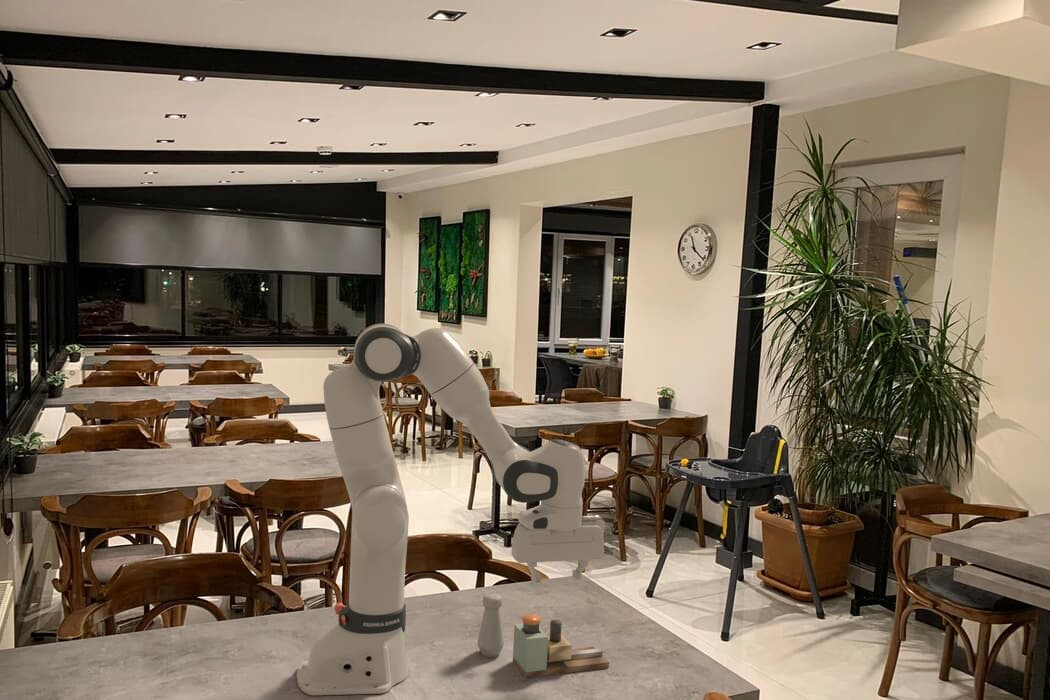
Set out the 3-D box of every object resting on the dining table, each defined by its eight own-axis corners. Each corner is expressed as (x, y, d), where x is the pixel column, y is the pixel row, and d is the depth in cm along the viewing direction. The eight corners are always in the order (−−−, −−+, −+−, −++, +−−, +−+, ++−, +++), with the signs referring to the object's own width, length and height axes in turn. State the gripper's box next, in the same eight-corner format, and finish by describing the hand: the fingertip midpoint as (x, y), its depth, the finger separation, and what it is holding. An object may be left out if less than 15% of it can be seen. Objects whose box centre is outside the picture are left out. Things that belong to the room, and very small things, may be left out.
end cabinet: (525, 672, 169) (527, 639, 168) (513, 655, 176) (514, 624, 176) (546, 669, 170) (548, 636, 170) (532, 653, 178) (534, 622, 177)
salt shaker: (499, 660, 176) (502, 601, 176) (474, 657, 177) (476, 598, 177) (505, 649, 182) (508, 592, 181) (481, 646, 183) (483, 589, 182)
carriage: (549, 661, 171) (550, 628, 171) (538, 648, 177) (539, 617, 177) (571, 658, 173) (572, 626, 173) (559, 646, 179) (561, 615, 179)
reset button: (525, 644, 170) (526, 622, 170) (519, 637, 174) (520, 615, 174) (542, 642, 172) (543, 620, 171) (535, 635, 175) (536, 613, 175)
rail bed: (525, 677, 169) (525, 667, 169) (512, 661, 176) (513, 651, 176) (608, 667, 175) (609, 657, 175) (592, 651, 183) (593, 642, 183)
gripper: (599, 511, 180) (594, 573, 181) (511, 513, 173) (506, 577, 174) (611, 519, 174) (606, 582, 175) (521, 521, 167) (516, 588, 168)
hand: (556, 580), depth 174 cm, fingers open, 8 cm apart
